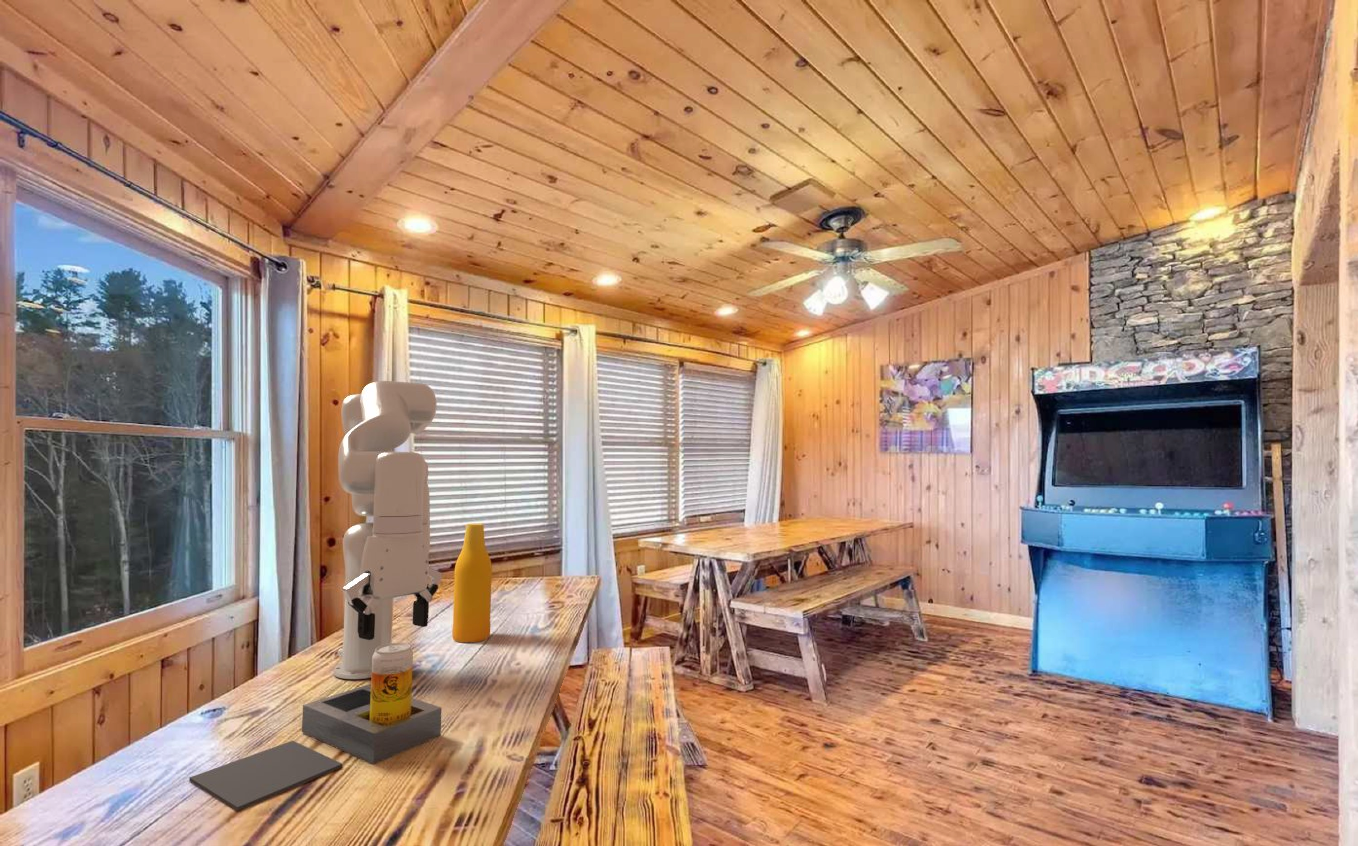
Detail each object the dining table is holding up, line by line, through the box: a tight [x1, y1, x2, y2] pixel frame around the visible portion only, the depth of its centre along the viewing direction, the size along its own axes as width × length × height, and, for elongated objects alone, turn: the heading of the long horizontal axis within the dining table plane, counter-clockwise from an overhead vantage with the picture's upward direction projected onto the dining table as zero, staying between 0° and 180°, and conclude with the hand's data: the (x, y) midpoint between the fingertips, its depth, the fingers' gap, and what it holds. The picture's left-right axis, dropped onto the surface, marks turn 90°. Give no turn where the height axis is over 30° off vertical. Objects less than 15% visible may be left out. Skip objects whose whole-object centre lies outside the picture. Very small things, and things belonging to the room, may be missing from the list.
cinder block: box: [301, 683, 443, 765], centre depth 105 cm, size 20×12×4 cm, turn 58°
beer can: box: [370, 642, 414, 726], centre depth 103 cm, size 6×6×15 cm
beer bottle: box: [451, 522, 493, 643], centre depth 162 cm, size 9×9×29 cm
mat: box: [188, 740, 344, 812], centre depth 91 cm, size 14×14×1 cm
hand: (394, 631), depth 103 cm, fingers open, 9 cm apart
